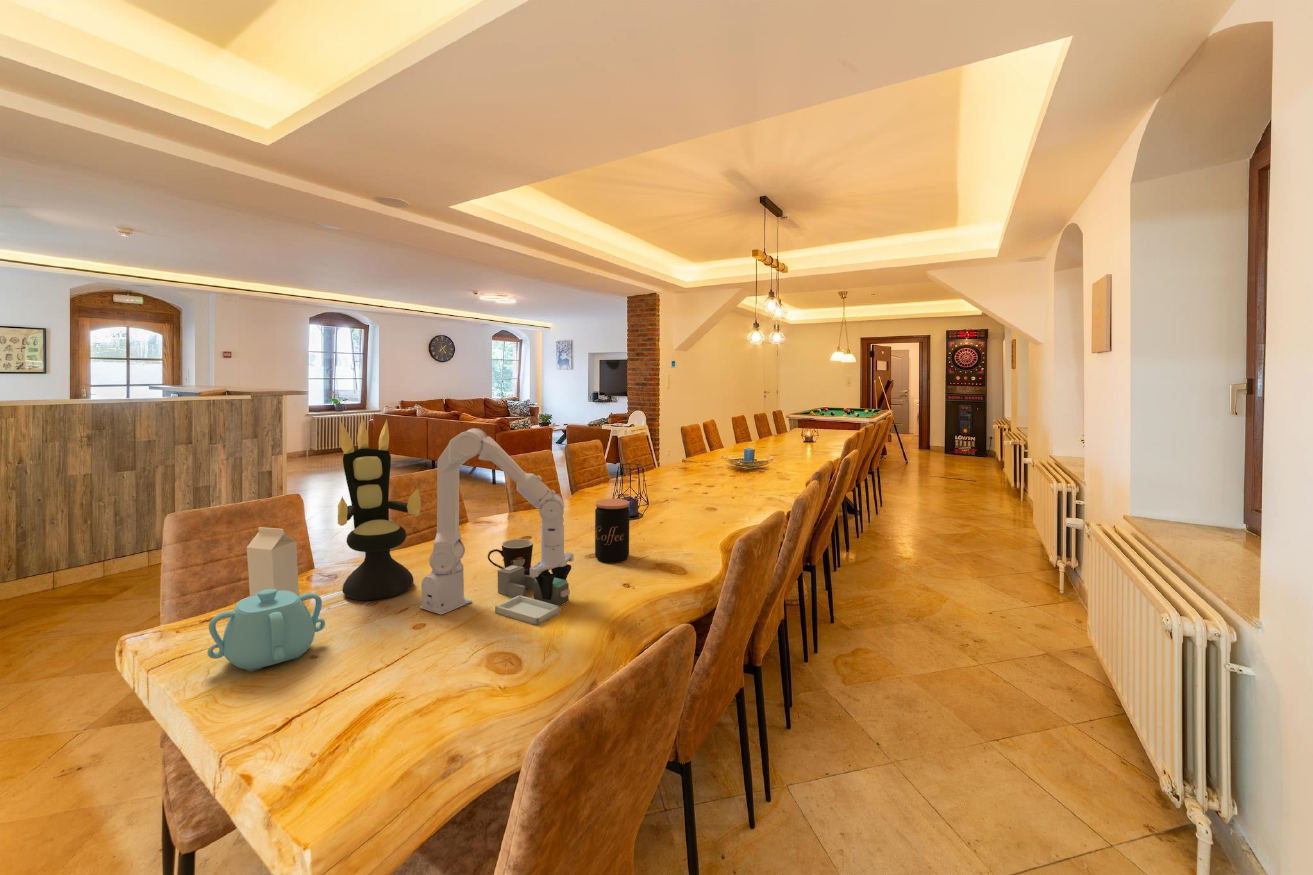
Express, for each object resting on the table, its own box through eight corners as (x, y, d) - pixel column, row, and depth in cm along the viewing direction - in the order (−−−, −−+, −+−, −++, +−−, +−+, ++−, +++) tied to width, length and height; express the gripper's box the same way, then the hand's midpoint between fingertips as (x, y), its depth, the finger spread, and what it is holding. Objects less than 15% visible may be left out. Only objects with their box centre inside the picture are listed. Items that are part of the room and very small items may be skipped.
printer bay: (523, 600, 142) (523, 576, 141) (497, 593, 146) (496, 569, 145) (542, 591, 148) (542, 568, 147) (516, 584, 152) (516, 562, 152)
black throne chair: (343, 610, 134) (335, 423, 129) (326, 583, 151) (318, 417, 146) (425, 592, 146) (420, 420, 141) (400, 569, 163) (395, 415, 158)
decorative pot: (196, 674, 105) (191, 604, 104) (266, 635, 121) (262, 574, 119) (274, 681, 103) (270, 610, 101) (335, 640, 119) (332, 579, 117)
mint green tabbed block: (561, 607, 138) (561, 586, 137) (533, 600, 142) (533, 579, 141) (571, 602, 141) (571, 581, 140) (544, 595, 145) (544, 574, 145)
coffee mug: (537, 573, 161) (537, 539, 160) (527, 584, 153) (527, 548, 152) (498, 571, 162) (498, 537, 161) (486, 582, 154) (486, 546, 153)
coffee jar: (589, 561, 172) (589, 504, 170) (602, 551, 182) (603, 497, 180) (621, 565, 169) (622, 507, 167) (633, 555, 179) (634, 500, 177)
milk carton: (275, 610, 133) (270, 533, 131) (250, 608, 135) (245, 531, 133) (299, 599, 140) (295, 525, 138) (275, 596, 142) (271, 523, 140)
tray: (537, 625, 128) (537, 618, 127) (495, 612, 134) (495, 606, 134) (560, 612, 135) (560, 606, 134) (519, 601, 141) (519, 595, 141)
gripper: (545, 553, 132) (545, 609, 133) (583, 538, 144) (582, 589, 146) (522, 548, 135) (523, 602, 137) (561, 534, 148) (561, 584, 149)
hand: (552, 595), depth 141 cm, fingers closed on mint green tabbed block, 4 cm apart
